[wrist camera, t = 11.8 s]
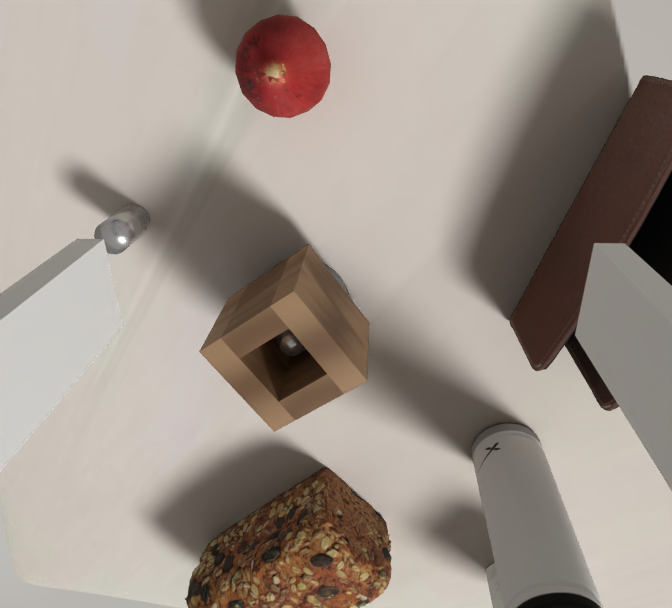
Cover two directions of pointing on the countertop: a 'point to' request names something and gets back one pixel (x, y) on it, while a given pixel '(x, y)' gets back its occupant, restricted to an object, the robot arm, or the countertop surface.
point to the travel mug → (529, 524)
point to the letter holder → (605, 230)
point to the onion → (283, 66)
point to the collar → (306, 324)
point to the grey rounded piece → (123, 228)
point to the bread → (298, 553)
